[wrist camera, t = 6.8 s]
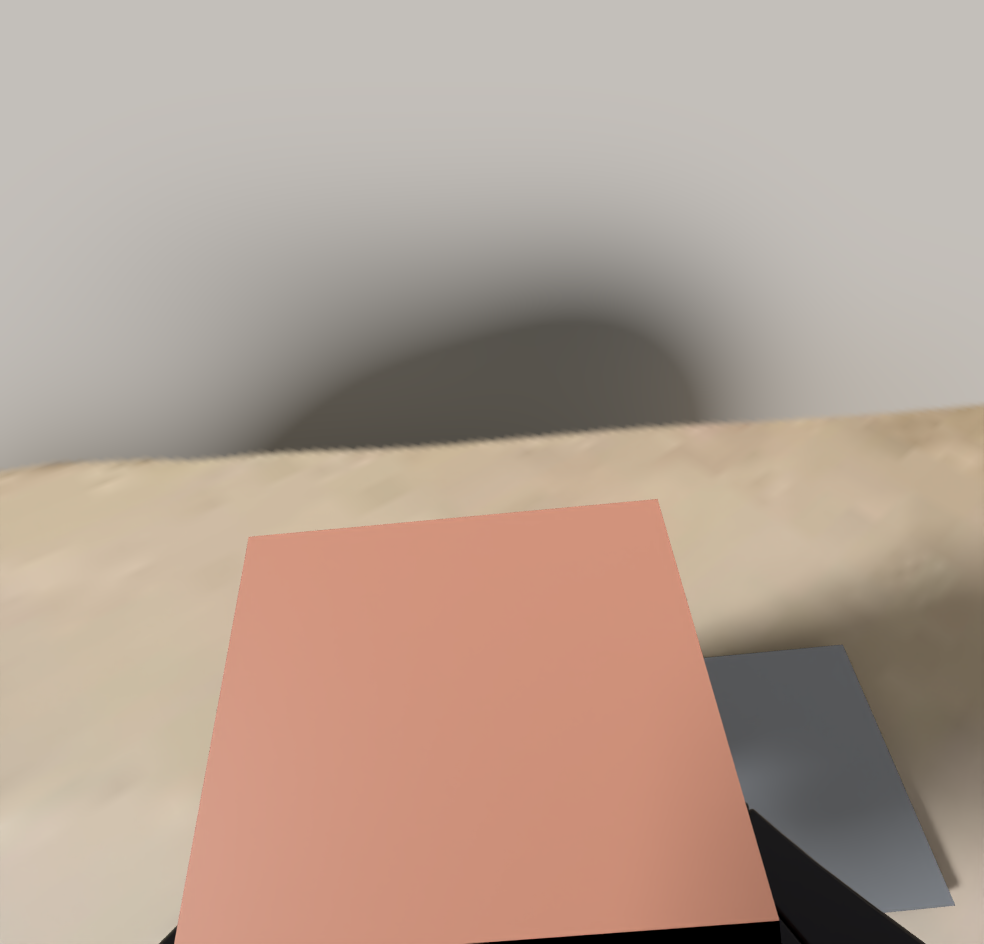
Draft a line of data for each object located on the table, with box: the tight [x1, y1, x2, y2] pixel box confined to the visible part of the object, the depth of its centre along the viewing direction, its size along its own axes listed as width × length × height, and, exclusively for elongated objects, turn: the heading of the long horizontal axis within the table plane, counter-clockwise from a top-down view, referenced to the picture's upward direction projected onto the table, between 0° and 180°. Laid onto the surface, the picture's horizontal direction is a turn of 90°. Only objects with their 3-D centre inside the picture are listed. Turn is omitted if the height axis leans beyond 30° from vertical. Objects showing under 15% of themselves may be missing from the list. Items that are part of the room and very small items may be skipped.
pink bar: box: [174, 499, 782, 944], centre depth 8 cm, size 4×2×13 cm
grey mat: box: [704, 645, 955, 913], centre depth 18 cm, size 8×8×1 cm
